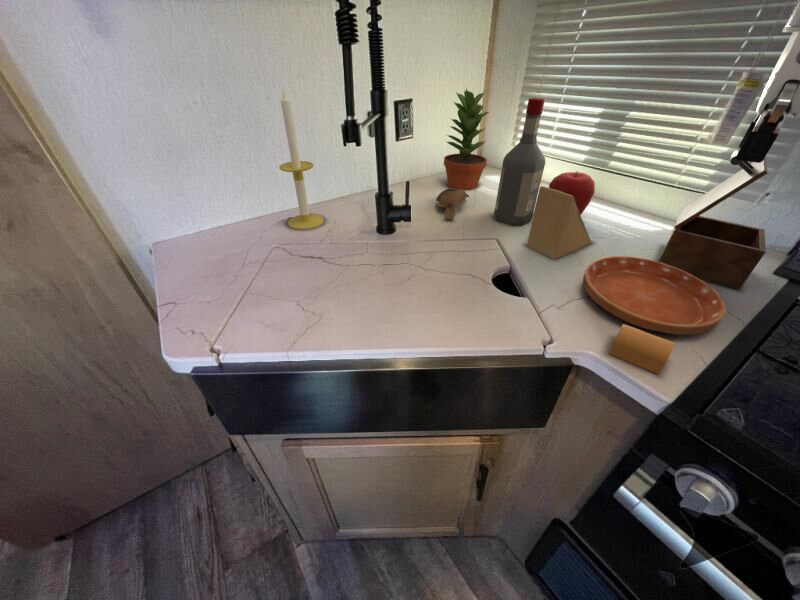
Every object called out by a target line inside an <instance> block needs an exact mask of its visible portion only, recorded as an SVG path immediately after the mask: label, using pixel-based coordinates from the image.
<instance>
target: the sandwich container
mask: <svg viewBox="0 0 800 600" xmlns="http://www.w3.org/2000/svg"><path fill="white" fill-rule="evenodd" d="M592 243H593V242H592V239H591V237H590V235H589V233H588V230H587V228H586V225H585V223H584V221H583V218H582V217H581V215H580V214H579V211H578V208H577V206H576V203H575V200H574V197H573V196H572V195H569V194H566V193H564V192H561V191H558V190H555V189H551V188H549V186H543V185H540V187H539V191H538V195H537V200H536V204H535V208H534V212H533V216H532V218H531V225H530V228H529V232H528V237H527V242H526V246H527V247H528V248H531V249H533V250H535V251H537V252H539V253H541V254H543V255H545V256H547V257H548V258H551V259H557V258H559V257H562V256H565V255H567V254H570V253H573V252H575V251H578V250H579V249H582V248H584V247H586V246H588V245H590V244H592Z"/></svg>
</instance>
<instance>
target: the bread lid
mask: <svg viewBox="0 0 800 600" xmlns="http://www.w3.org/2000/svg"><path fill="white" fill-rule="evenodd" d="M739 150H740V149H738V150H737V149H736V150H735V151H733V152H732V153H731V155H730V160H729V162H730V165H732V166H739V167H740V168H741V170H739V171H738V172H735V173H734V174H733V175H731V176H730V177H728V178H726V179H725V180H724V181H722V182H721V183H719V184H718V185H716V186H714V187H713V188H711V189H710V190H708V191H707V192H706V193H704V194H702V195H701V196H699V197H698V198H696V199H695V200H693V201H692V202H690V203H689V204H687V205H686V206H684V207H683V208H681V210H680V212H679V215H678V217H677V219H676V221H675V224H674V226H673V229H674V228H675V229H679V228H680V227H682V226H683V225H685V224H687V223H688V222H690V221H691V220H693V219H695V218H696V217H698V216H701V215H703V214H704V213H706V212H708V211H709V210H711V209H712V208H714V207H716V206H717V205H719V204H720V203H722V202H724V201H725V200H727V199H729V198H730V197H732V196H733V195H735V194H736V193H738V192H740V191H742V190H744V189H745V188H747V187H748V186H750V185H751V184H753V183H755V182H756V181H758V180H759V179H761V178H763V177H764V176H766V175H767V174H768V173H769V172H768V163H767V156H765V158H764V160H763V161H762V162H760V163H756V162H749V161H742V160H737V159H736V156H737V154H738V152H739Z"/></svg>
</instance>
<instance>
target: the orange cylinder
mask: <svg viewBox="0 0 800 600" xmlns="http://www.w3.org/2000/svg"><path fill="white" fill-rule="evenodd" d="M674 347H675V342H673V341H670V340H668V339H665V338H663V337H660V336H657V335H654V334H651V333H649V332H647V331H644V330H641V329H638V328H636V327H634V326H630V325H627V324H625V323H623V324H622V325H621V327H620V329H619V331H618V333H617V335H616V337H615V338H614V341H613V343H612V345H611V347H610V350H609V352H608V354H609V355H612V356H614V357H616V358H619V359H620V360H623V361H626V362H627V363H631V364H633V365H635V366H637V367H640V368H642V369H645V370H647V371H649V372H651V373H654V374H656V375H659V374H660V373H661V371H662V369H663V367H664V366H665V365H666V363H667V362H668V359H669V358H670V356H671V354H672V352H673V350H674Z"/></svg>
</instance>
